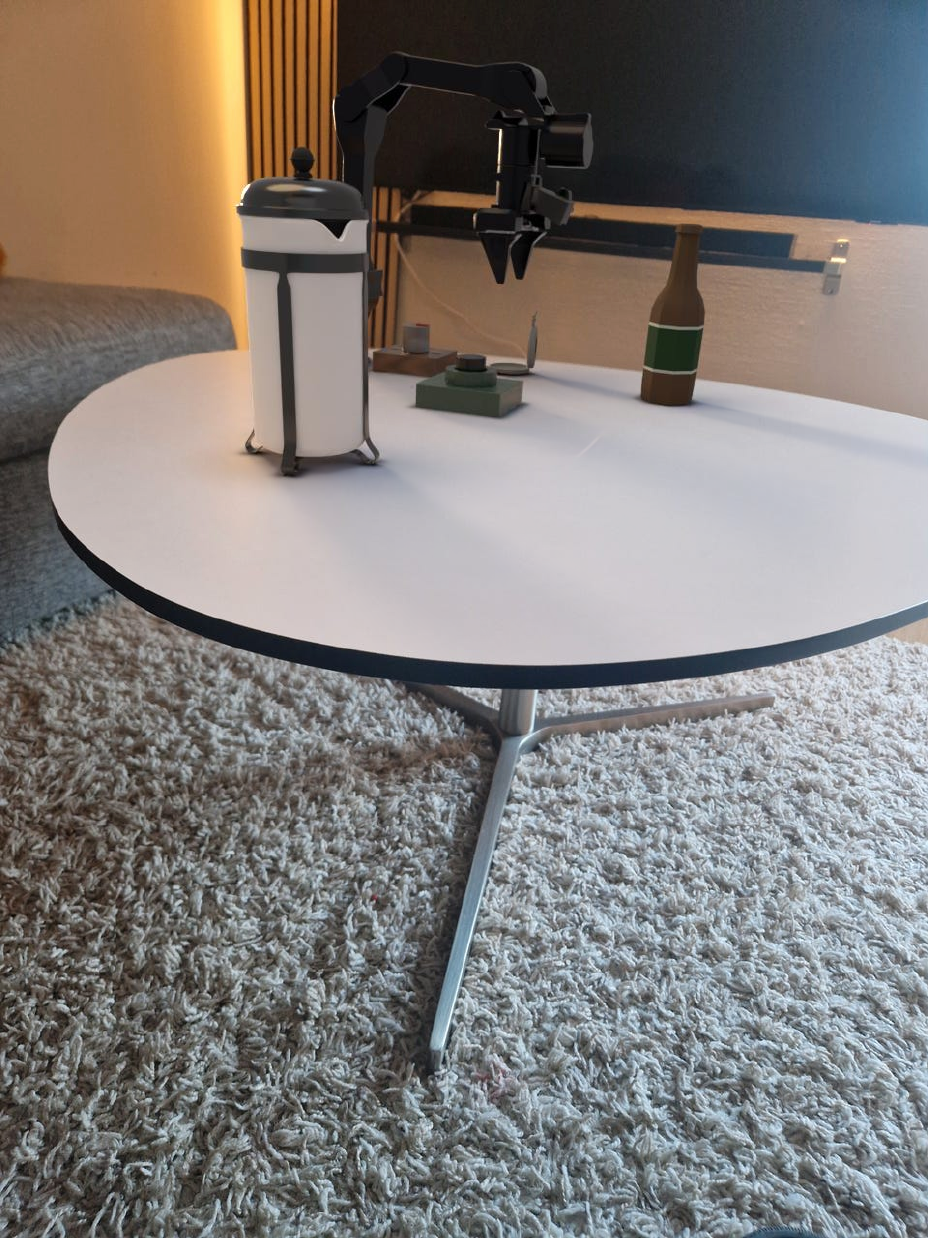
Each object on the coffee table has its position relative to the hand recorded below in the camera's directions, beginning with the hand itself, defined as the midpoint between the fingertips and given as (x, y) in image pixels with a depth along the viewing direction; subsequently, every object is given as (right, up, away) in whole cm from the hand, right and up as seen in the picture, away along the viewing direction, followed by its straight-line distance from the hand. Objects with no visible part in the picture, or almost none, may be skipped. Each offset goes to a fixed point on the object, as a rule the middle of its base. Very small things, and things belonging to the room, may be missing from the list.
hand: (510, 281), depth 135 cm
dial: (-15, -8, +10) cm, 19 cm away
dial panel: (-15, -10, +11) cm, 21 cm away
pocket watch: (+2, -11, +13) cm, 16 cm away
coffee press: (-25, -33, -37) cm, 55 cm away
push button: (-6, -17, -13) cm, 22 cm away
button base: (-6, -21, -11) cm, 25 cm away
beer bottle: (+23, -19, -2) cm, 30 cm away
